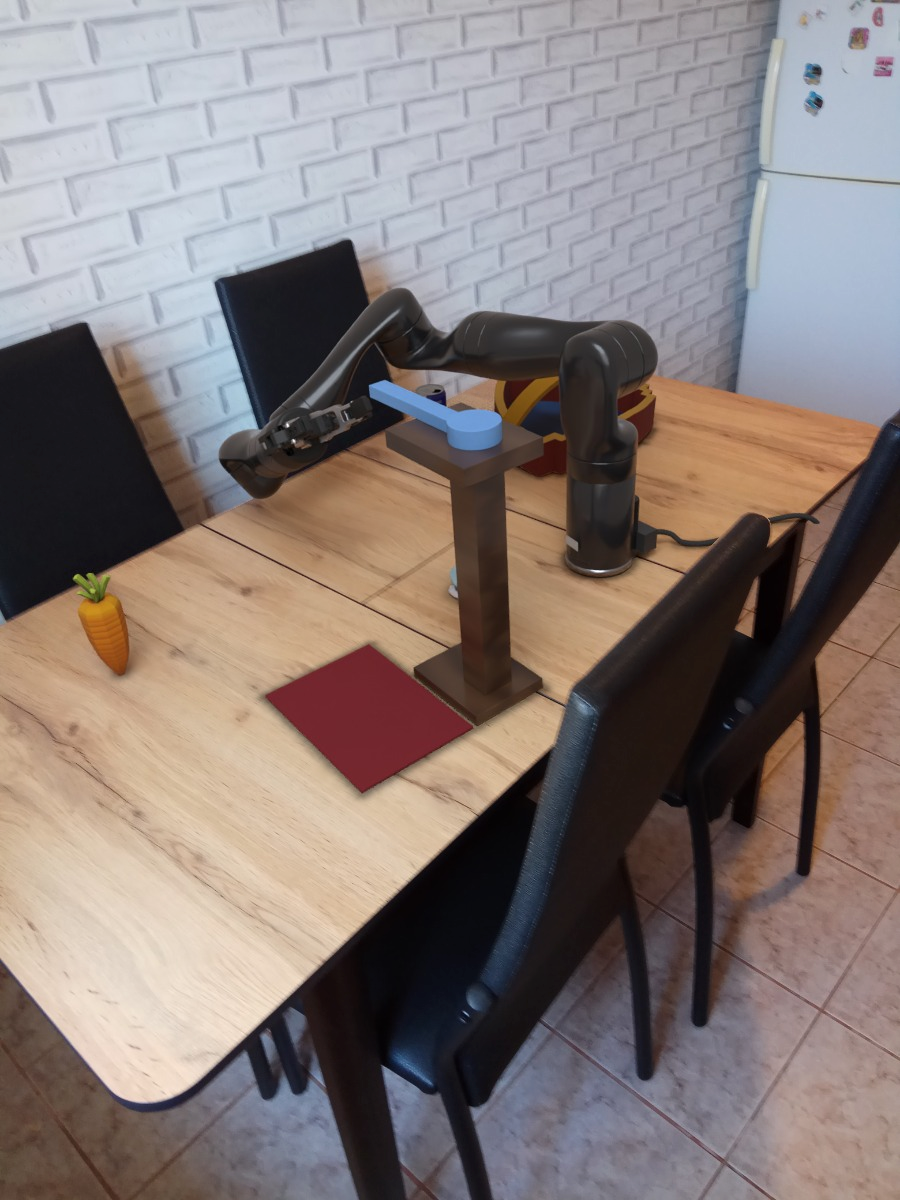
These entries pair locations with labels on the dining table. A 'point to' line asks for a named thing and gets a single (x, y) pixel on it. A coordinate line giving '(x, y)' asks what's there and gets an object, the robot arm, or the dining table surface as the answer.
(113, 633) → the carrot
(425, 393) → the energy drink
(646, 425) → the decorative basket
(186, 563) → the dining table surface
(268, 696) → the cloth
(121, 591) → the dining table surface
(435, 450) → the stand
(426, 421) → the blue disc paddle
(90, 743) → the dining table surface
